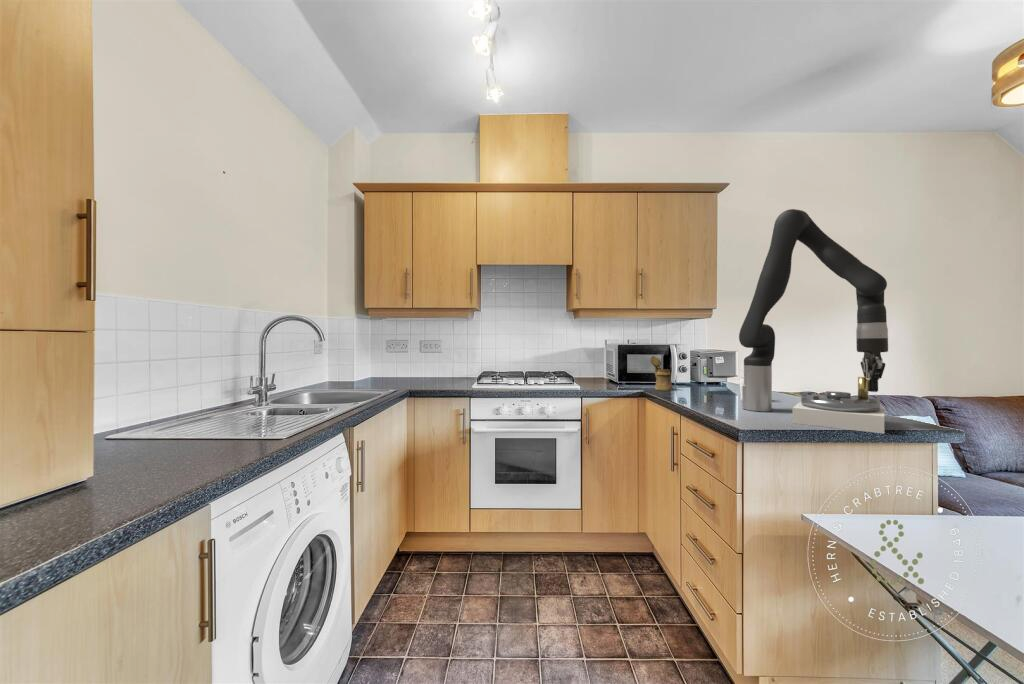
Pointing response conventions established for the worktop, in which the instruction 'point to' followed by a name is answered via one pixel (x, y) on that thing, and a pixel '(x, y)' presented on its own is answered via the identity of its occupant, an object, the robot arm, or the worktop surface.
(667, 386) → the utensil crock with spoon
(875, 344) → the robot arm
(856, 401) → the handwheel with gold grip
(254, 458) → the worktop surface
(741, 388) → the white cup
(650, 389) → the worktop surface
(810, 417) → the block
